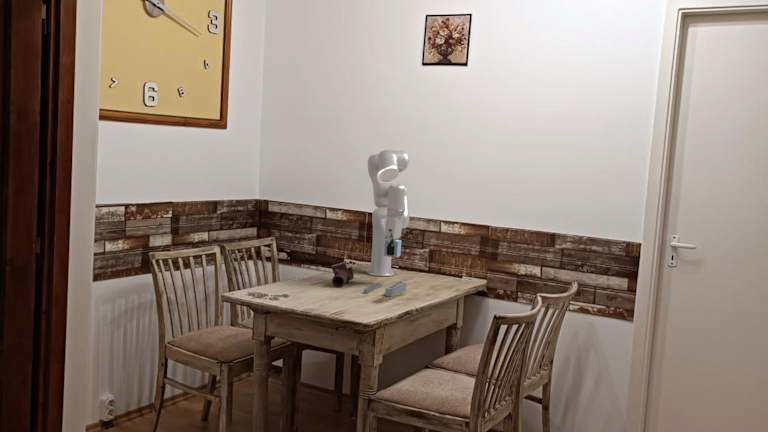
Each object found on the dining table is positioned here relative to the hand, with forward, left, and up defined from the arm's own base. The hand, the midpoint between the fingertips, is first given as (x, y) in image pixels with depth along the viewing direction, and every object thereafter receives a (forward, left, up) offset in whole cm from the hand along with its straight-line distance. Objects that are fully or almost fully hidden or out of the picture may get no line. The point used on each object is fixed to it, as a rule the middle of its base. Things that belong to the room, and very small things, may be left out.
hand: (392, 253), depth 339 cm
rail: (+2, -16, -14) cm, 21 cm away
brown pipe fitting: (-18, -12, -14) cm, 26 cm away
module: (0, 0, -1) cm, 1 cm away
